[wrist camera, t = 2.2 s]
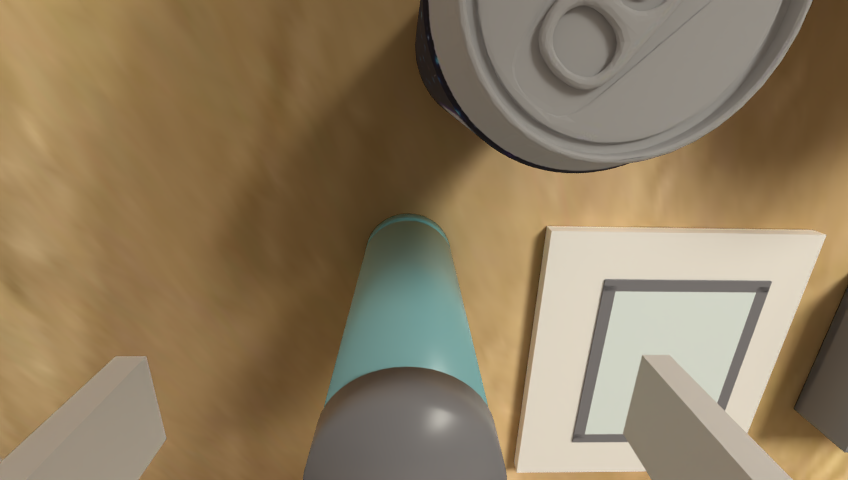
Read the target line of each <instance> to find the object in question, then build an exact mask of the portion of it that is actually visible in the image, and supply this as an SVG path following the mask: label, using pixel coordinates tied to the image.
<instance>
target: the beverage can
mask: <svg viewBox="0 0 848 480" xmlns="http://www.w3.org/2000/svg"><path fill="white" fill-rule="evenodd" d="M812 1H813V0H420V7H419V16H418V24H417V32H416V42H415V49H416V60H417V65H418V69H419V72H420V75H421V78H422V80H423V83H424V85H425V87H426V88H427V90H428V92H429V93H430V95H431V96H432V97H433V98H434V100H435V101H436V102H437V103H438V104H439V105H440V106H441V107H442V108H444V109H445V110H446V111H447V112H449V113H450V114H451V115H452V116H454V117H455V118H456V119H457V120H459V121H460V122H461V123H462V124H464V125H465V126H466V127H467V128H469V129H470V130H471V131H472V132H474V133H475V134H476V135H477V136H479V137H480V138H481V139H482V140H484V141H485V142H486V143H487V144H489V145H490V146H491V147H493V148H494V149H496V150H497V151H499V152H500V153H502V154H504V155H506V156H507V157H509V158H511V159H513V160H515V161H518V162H520V163H522V164H525V165H528V166H531V167H534V168H538V169H542V170H547V171H553V172H561V173H588V172H596V171H603V170H608V169H612V168H616V167H619V166H623V165H626V164H629V163H633V162H639V161H644V160H648V159H651V158H655V157H658V156H661V155H665V154H668V153H671V152H673V151H675V150H677V149H679V148H682V147H684V146H686V145H688V144H690V143H693V142H695V141H696V140H698V139H699V138H701V137H703V136H704V135H706V134H707V133H709V132H711V131H712V130H714V129H715V128H717V127H719V126H720V125H721V124H722V123H723V122H725V121H726V120H727V119H728V118H730V117H731V116H732V115H733V114H734V113H736V112H737V111H738V110H739V109H741V108H742V107H743V106H744V105H745V104H746V103H747V101H748V100H749V99H750V98H751V97H752V96H753V95H754V94H755V93H756V92H757V91H758V90H759V89H760V88H761V87H762V86H763V85H764V83H765V82H766V81H767V79H768V78H769V77H770V75H771V74H772V73H773V71H774V70H775V69H776V68H777V66H778V65H779V64H780V62H781V61H782V59H783V58H784V56H785V54H786V53H787V51H788V49H789V48H790V46H791V44H792V43H793V41H794V39H795V37H796V36H797V34H798V32H799V30H800V28H801V26H802V23H803V21H804V19H805V17H806V15H807V12H808V10H809V8H810V6H811V3H812Z"/></svg>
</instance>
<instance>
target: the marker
mask: <svg viewBox="0 0 848 480" xmlns="http://www.w3.org/2000/svg"><path fill="white" fill-rule="evenodd" d="M303 480H507V475H506V468H505V464H504V460H503V456H502V452H501V448H500V444H499V440H498V436H497V432H496V428H495V424H494V420H493V417H492V414H491V412H490V410H489V408H488V404H487V400H486V396H485V392H484V387H483V383H482V379H481V375H480V371H479V367H478V362H477V358H476V354H475V350H474V346H473V341H472V337H471V333H470V329H469V325H468V321H467V316H466V312H465V308H464V304H463V300H462V296H461V291H460V287H459V283H458V279H457V275H456V271H455V266H454V262H453V258H452V254H451V250H450V246H449V242H448V239H447V237H446V235H445V233H444V232H443V230H442V229H441V228H440V227H439V226H438V225H437V224H436V223H435V222H433V221H432V220H430V219H428V218H426V217H424V216H421V215H417V214H400V215H396V216H392V217H390V218H388V219H386V220H384V221H383V222H382V223H380V224H379V225H378V226H377V227H376V228H375V229H374V231H373V232H372V234H371V236H370V238H369V240H368V243H367V247H366V251H365V254H364V258H363V262H362V266H361V269H360V273H359V277H358V281H357V284H356V288H355V292H354V296H353V300H352V303H351V307H350V311H349V315H348V318H347V322H346V326H345V330H344V333H343V337H342V341H341V345H340V348H339V352H338V356H337V360H336V364H335V367H334V371H333V375H332V379H331V382H330V386H329V390H328V394H327V397H326V401H325V405H324V409H323V410H322V412H321V414H320V417H319V420H318V423H317V426H316V430H315V434H314V437H313V441H312V445H311V448H310V452H309V456H308V459H307V463H306V467H305V470H304V476H303Z"/></svg>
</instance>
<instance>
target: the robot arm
mask: <svg viewBox="0 0 848 480" xmlns="http://www.w3.org/2000/svg"><path fill="white" fill-rule="evenodd" d="M623 435H624V436H625V438H626V439H627V441H628V443H629V444H630V446H631V447H632V449H633V451H634V452H635V454H636V455H637V457H638V459H639V460H640V462H641V463H642V465H643V467H644V468H645V470H646V471H647V473H648V475H649V476H650V478H651V479H652V480H793V479H792V478H791V477H790V476H789V475H788V474H787V473H786V472H785V471H784V470H783V469H782V468H781V467H780V466H779V465H778V464H777V463H776V462H775V461H774V460H773V459H772V458H771V457H770V456H769V455H768V454H767V453H766V452H765V451H764V450H763V449H762V448H761V447H760V446H759V445H758V444H757V443H756V442H755V441H754V440H753V439H752V438H751V437H750V436H749V435H748V434H747V433H746V432H745V431H744V430H743V429H742V428H741V427H740V426H739V425H738V424H737V423H736V422H735V421H734V420H733V419H732V418H731V417H730V416H729V415H728V414H727V413H726V412H725V411H724V410H723V409H722V408H721V407H720V406H719V405H718V404H717V403H716V401H715V400H714V399H713V398H712V397H711V396H710V395H709V394H708V393H707V392H706V391H705V390H704V389H703V388H702V387H701V386H700V385H699V384H698V383H697V382H696V381H695V380H694V379H693V378H692V377H691V376H690V375H689V374H688V373H687V372H686V371H685V370H684V369H683V368H682V367H681V366H680V365H679V364H678V363H677V362H676V361H675V360H674V359H673V358H672V357H671V356H670V355H642V357H641V362H640V366H639V370H638V374H637V378H636V382H635V386H634V390H633V394H632V398H631V402H630V406H629V410H628V414H627V419H626V423H625V427H624V431H623ZM165 440H166V434H165V430H164V426H163V422H162V418H161V414H160V410H159V406H158V402H157V398H156V394H155V390H154V385H153V381H152V377H151V373H150V369H149V365H148V361H147V357H146V356H115V357H114V358H113V359H112V360H111V361H110V362H109V363H108V364H107V365H106V366H104V367H103V368H102V369H101V370H100V371H99V372H98V373H97V374H96V375H95V376H94V377H92V378H91V379H90V380H89V381H88V382H87V383H86V384H85V385H84V386H83V387H82V388H81V389H79V390H78V391H77V392H76V393H75V394H74V395H73V396H72V397H71V398H70V399H69V400H67V401H66V402H65V403H64V404H63V405H62V406H61V407H60V408H59V409H58V410H57V411H55V412H54V413H53V414H52V415H51V416H50V417H49V418H48V419H47V420H46V421H45V422H44V423H42V424H41V425H40V426H39V427H38V428H37V429H36V430H35V431H34V432H33V433H32V434H30V435H29V436H28V437H27V438H26V439H25V440H24V441H23V442H22V443H21V444H20V445H18V446H17V447H16V448H15V449H14V450H13V451H12V452H11V453H10V454H9V455H8V456H6V457H5V458H4V459H3V460H2V461H1V462H0V480H139V478H140V477H141V475H142V474H143V472H144V471H145V469H146V468H147V466H148V465H149V464H150V462H151V461H152V459H153V458H154V456H155V455H156V453H157V452H158V450H159V449H160V448H161V446H162V445H163V443H164V442H165Z"/></svg>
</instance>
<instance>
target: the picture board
mask: <svg viewBox="0 0 848 480" xmlns="http://www.w3.org/2000/svg"><path fill="white" fill-rule="evenodd" d="M825 237H826V235H825V234H823V233H820V232H817V231H815V230H788V229H719V228H649V227H579V226H547V229H546V236H545V243H544V250H543V258H542V265H541V272H540V279H539V286H538V293H537V300H536V308H535V315H534V322H533V329H532V336H531V343H530V350H529V358H528V365H527V372H526V379H525V386H524V393H523V401H522V408H521V415H520V422H519V429H518V436H517V443H516V451H515V458H514V465H515V468H516V472H517V473H520V472H632V471H646V470H645V468H644V467H643V465H642V463H641V462H640V460H639V459H638V457H637V455H636V454H635V452H634V451H633V449H632V447H631V446H630V444H629V443H628V441H627V439H626V438H625V436H624V435H623V431H624V427H625V423H626V419H627V414H628V410H629V406H630V402H631V398H632V394H633V390H634V386H635V382H636V378H637V374H638V370H639V366H640V362H641V357H642V355H670V356H671V357H672V358H673V359H674V360H675V361H676V362H677V363H678V364H679V365H680V366H681V367H682V368H683V369H684V370H685V371H686V372H687V373H688V374H689V375H690V376H691V377H692V378H693V379H694V380H695V381H696V382H697V383H698V384H699V385H700V386H701V387H702V388H703V389H704V390H705V391H706V392H707V393H708V394H709V395H710V396H711V397H712V398H713V399H714V400H715V401H716V403H717V404H718V405H719V406H720V407H721V408H722V409H723V410H724V411H725V412H726V413H727V414H728V415H729V416H730V417H731V418H732V419H733V420H734V421H735V422H736V423H737V424H738V425H739V426H740V427H741V428H742V429H743V430H744V431H745V432H746V433H748V430H749V428H750V425H751V423H752V420H753V418H754V415H755V413H756V410H757V408H758V405H759V403H760V400H761V398H762V395H763V393H764V390H765V388H766V385H767V383H768V380H769V378H770V375H771V373H772V370H773V368H774V365H775V363H776V360H777V358H778V355H779V353H780V350H781V348H782V345H783V343H784V340H785V338H786V335H787V333H788V330H789V328H790V325H791V323H792V320H793V318H794V315H795V313H796V310H797V308H798V305H799V303H800V300H801V298H802V295H803V293H804V290H805V287H806V285H807V282H808V280H809V277H810V275H811V272H812V270H813V267H814V265H815V262H816V260H817V257H818V255H819V252H820V250H821V247H822V245H823V242H824V240H825Z"/></svg>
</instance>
